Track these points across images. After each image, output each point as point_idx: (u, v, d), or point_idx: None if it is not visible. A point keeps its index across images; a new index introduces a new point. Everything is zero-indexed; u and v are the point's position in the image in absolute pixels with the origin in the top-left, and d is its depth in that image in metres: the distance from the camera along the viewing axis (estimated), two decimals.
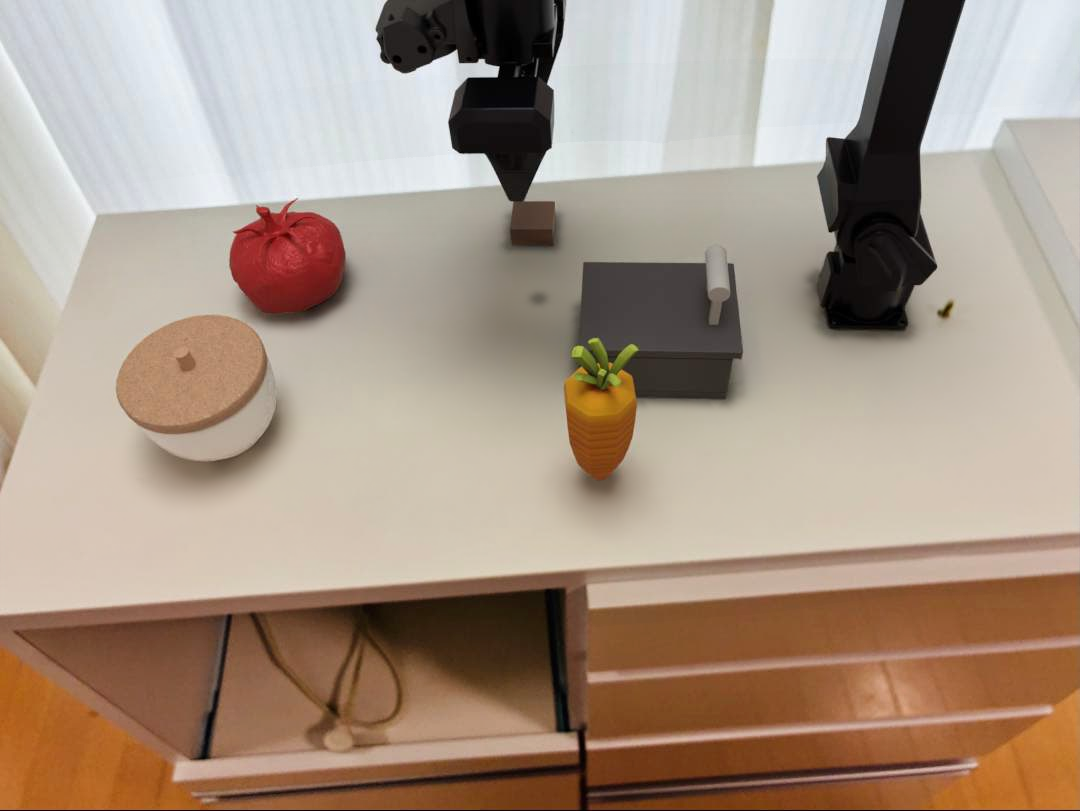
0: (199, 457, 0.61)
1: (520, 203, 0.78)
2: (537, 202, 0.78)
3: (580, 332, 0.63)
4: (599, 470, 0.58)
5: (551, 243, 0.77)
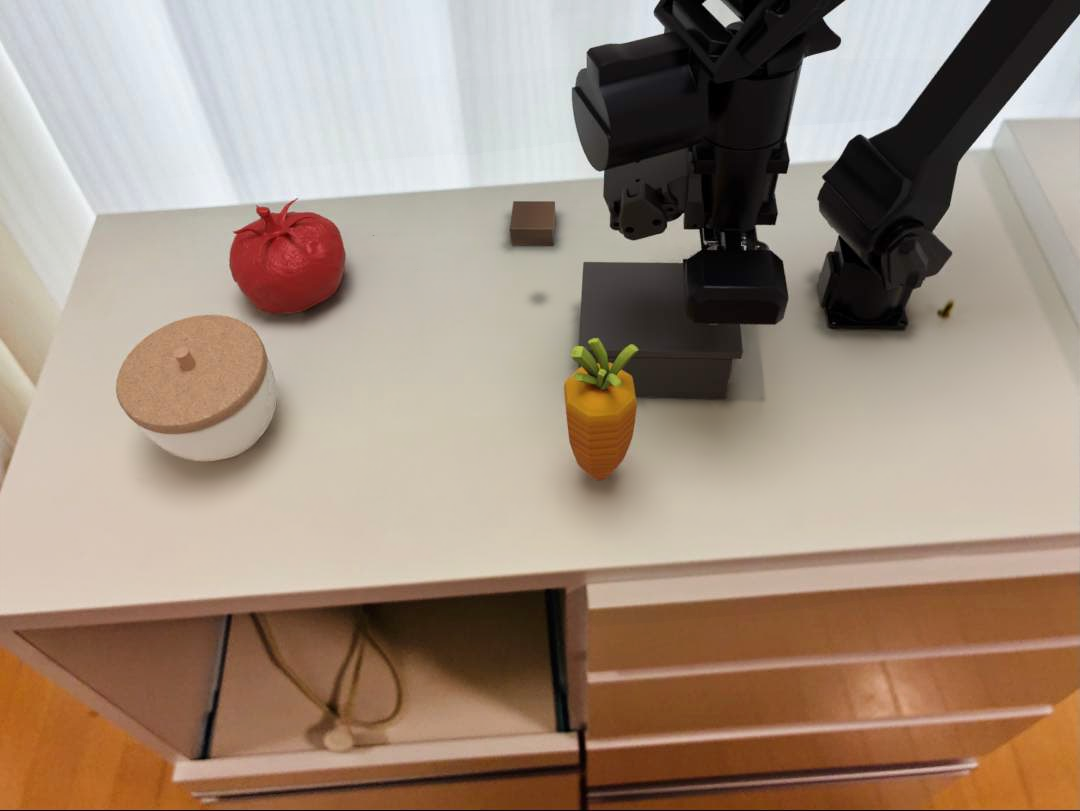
0: (199, 457, 0.61)
1: (520, 203, 0.78)
2: (537, 202, 0.78)
3: (580, 332, 0.63)
4: (599, 470, 0.58)
5: (551, 243, 0.77)
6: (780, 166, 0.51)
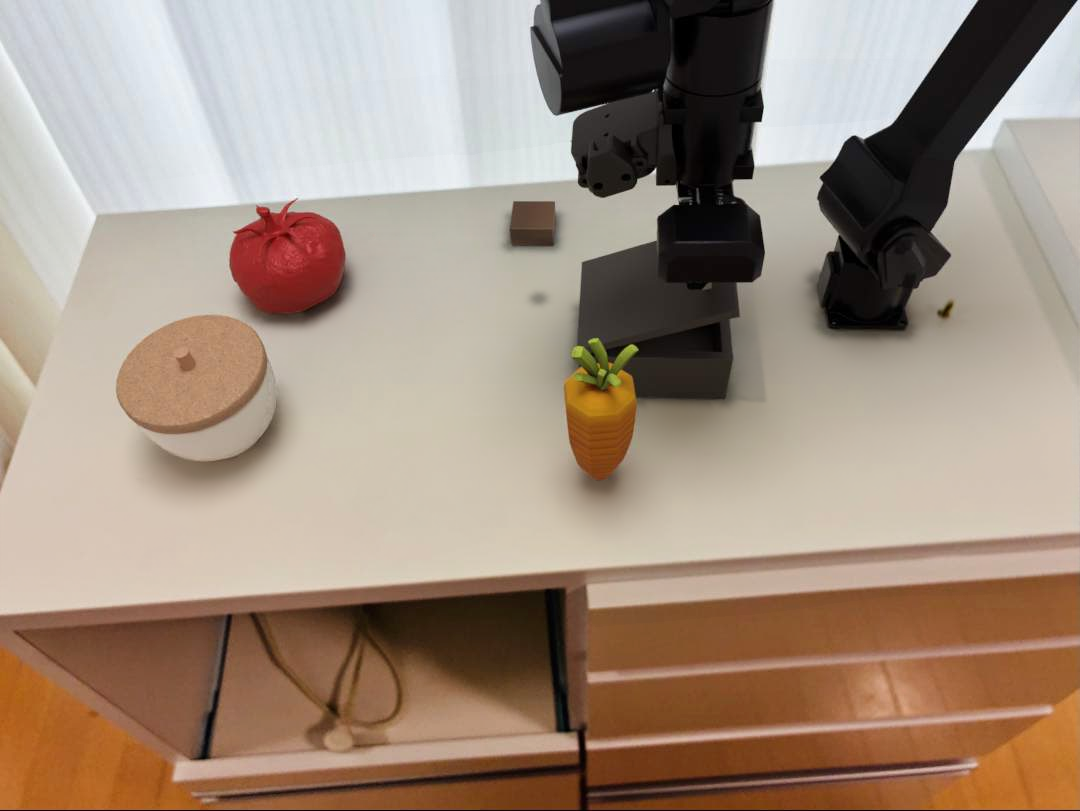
0: (199, 457, 0.61)
1: (520, 203, 0.78)
2: (537, 202, 0.78)
3: (578, 332, 0.63)
4: (599, 470, 0.58)
5: (551, 243, 0.77)
6: (754, 114, 0.48)
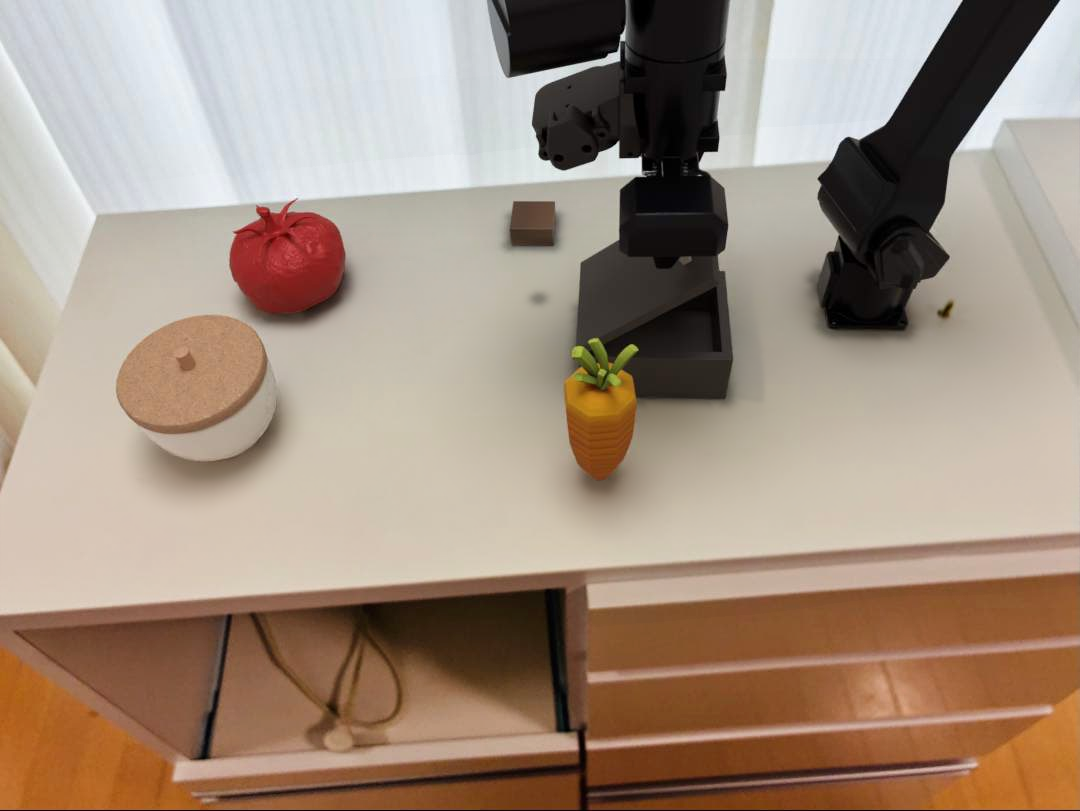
0: (199, 457, 0.61)
1: (520, 203, 0.78)
2: (537, 202, 0.78)
3: (577, 332, 0.63)
4: (599, 470, 0.58)
5: (551, 243, 0.77)
6: (717, 82, 0.47)
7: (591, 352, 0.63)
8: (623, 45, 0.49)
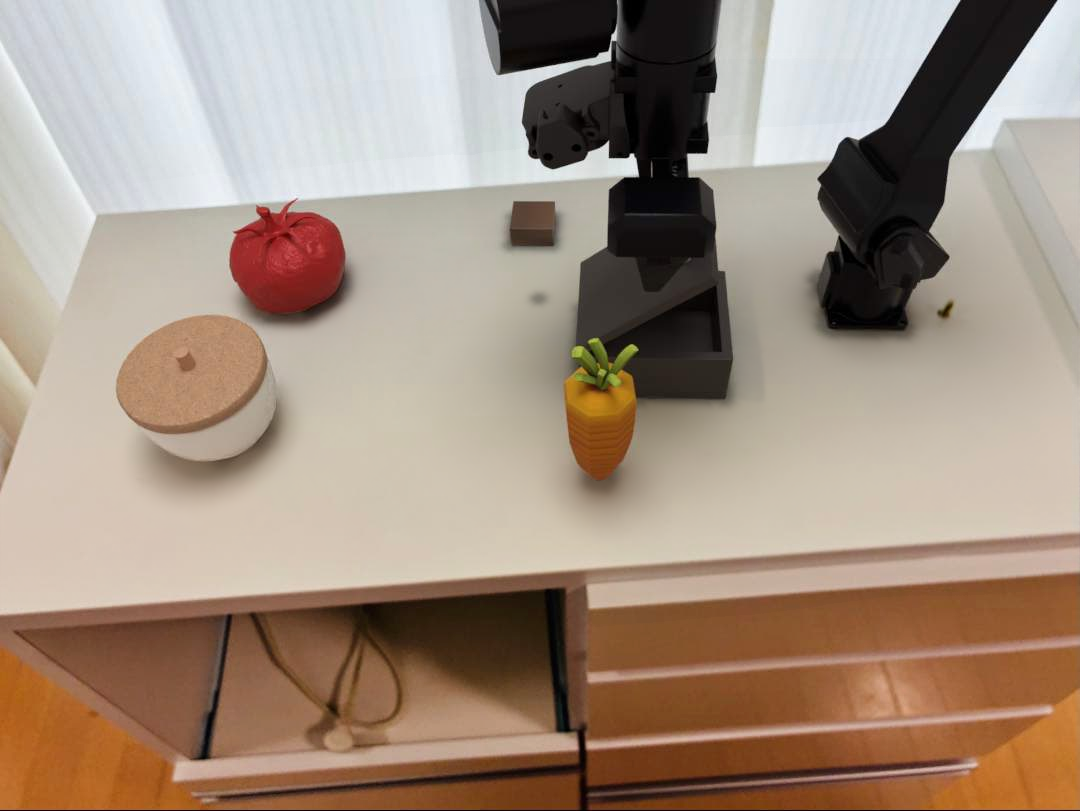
0: (199, 457, 0.61)
1: (520, 203, 0.78)
2: (537, 202, 0.78)
3: (577, 332, 0.63)
4: (599, 470, 0.58)
5: (551, 243, 0.77)
6: (707, 84, 0.47)
7: (591, 352, 0.63)
8: (614, 45, 0.49)
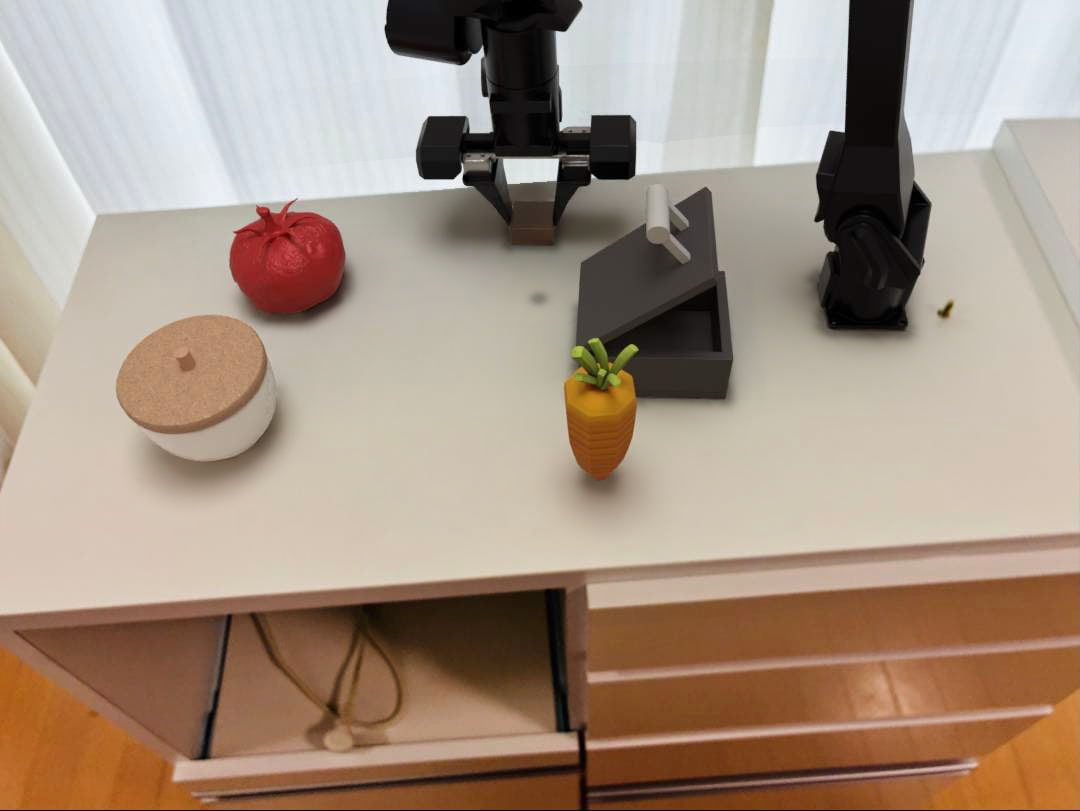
0: (199, 457, 0.61)
1: (520, 203, 0.78)
2: (537, 202, 0.78)
3: (577, 332, 0.63)
4: (599, 470, 0.58)
5: (551, 243, 0.77)
6: None
7: (591, 352, 0.63)
8: None
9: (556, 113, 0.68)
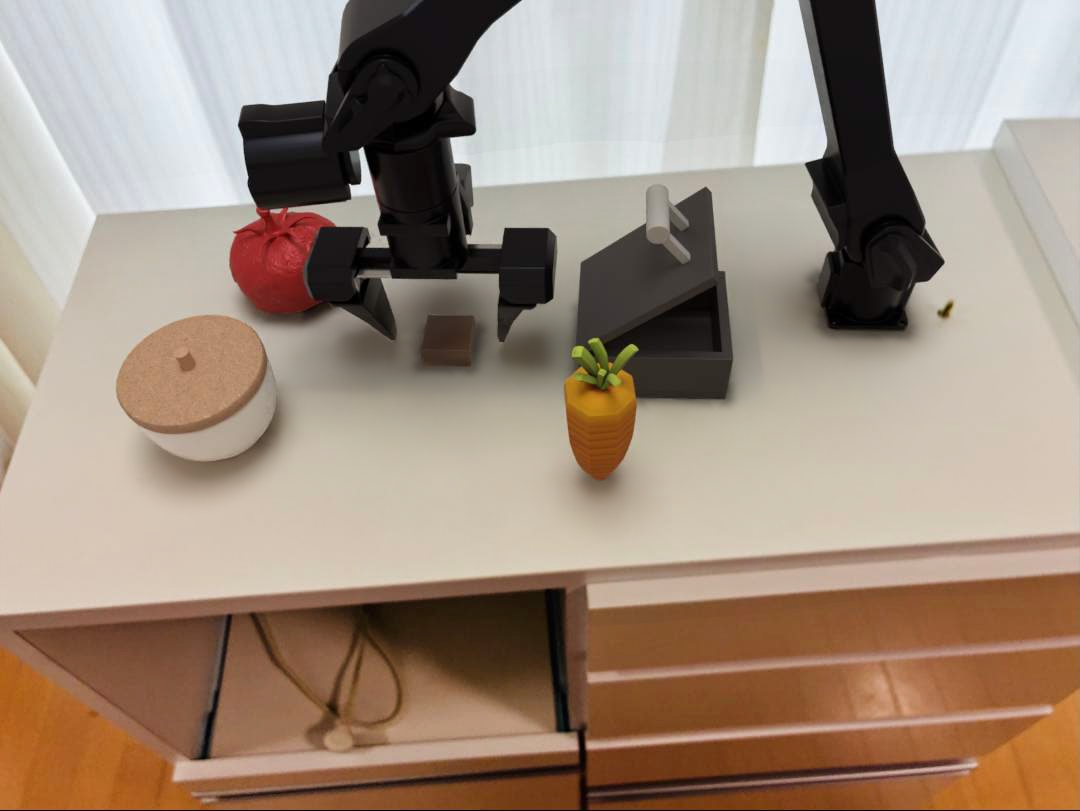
0: (199, 457, 0.61)
1: (435, 317, 0.70)
2: (454, 316, 0.70)
3: (577, 332, 0.63)
4: (599, 470, 0.58)
5: (468, 364, 0.69)
6: None
7: (591, 352, 0.63)
8: None
9: (459, 232, 0.59)
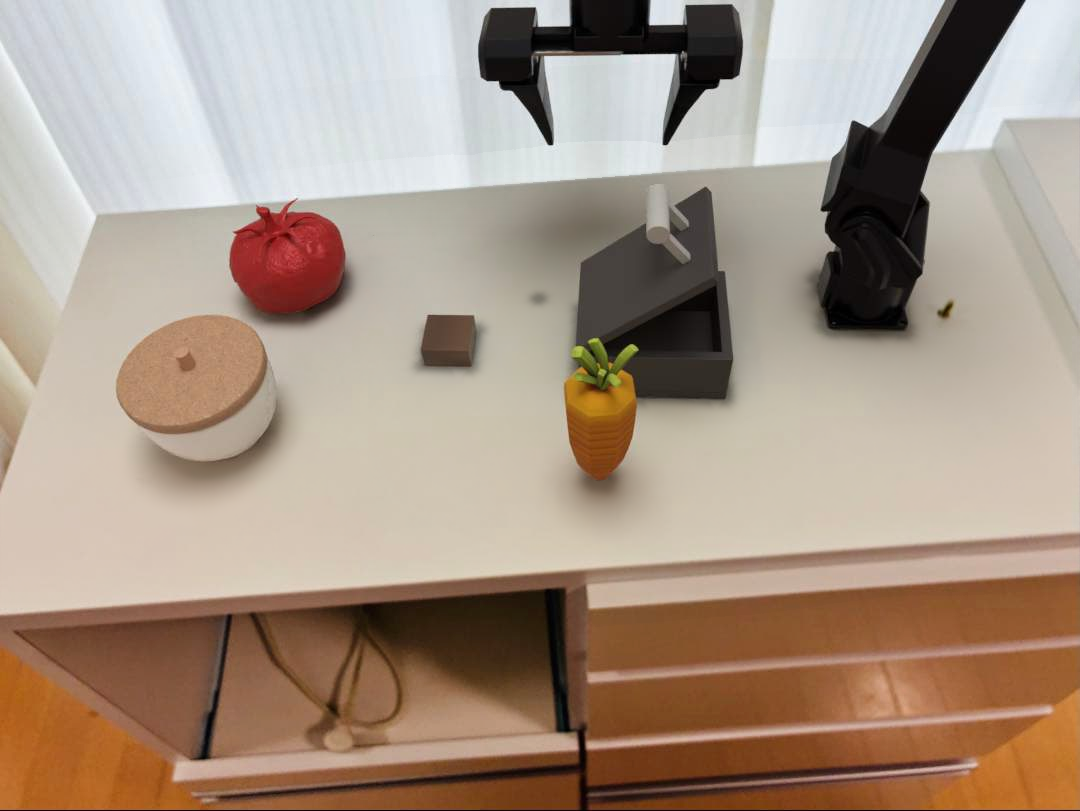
0: (199, 457, 0.61)
1: (435, 317, 0.70)
2: (454, 316, 0.70)
3: (577, 332, 0.63)
4: (599, 470, 0.58)
5: (468, 364, 0.69)
6: None
7: (591, 352, 0.63)
8: None
9: None
